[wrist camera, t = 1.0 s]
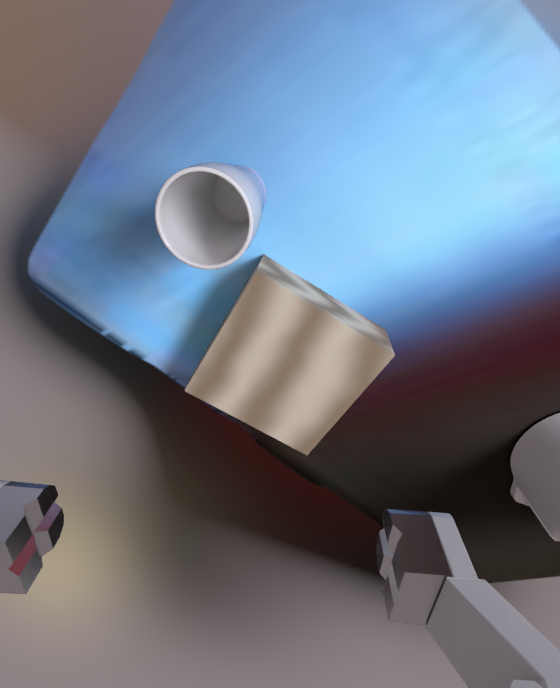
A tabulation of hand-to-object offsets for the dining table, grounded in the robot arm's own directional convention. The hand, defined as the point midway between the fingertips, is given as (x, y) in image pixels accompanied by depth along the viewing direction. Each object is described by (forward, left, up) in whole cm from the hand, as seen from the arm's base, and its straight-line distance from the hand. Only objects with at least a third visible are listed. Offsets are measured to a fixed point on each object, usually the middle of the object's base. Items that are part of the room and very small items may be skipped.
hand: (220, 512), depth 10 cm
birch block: (-7, +12, -35) cm, 37 cm away
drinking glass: (+6, 0, -35) cm, 36 cm away
